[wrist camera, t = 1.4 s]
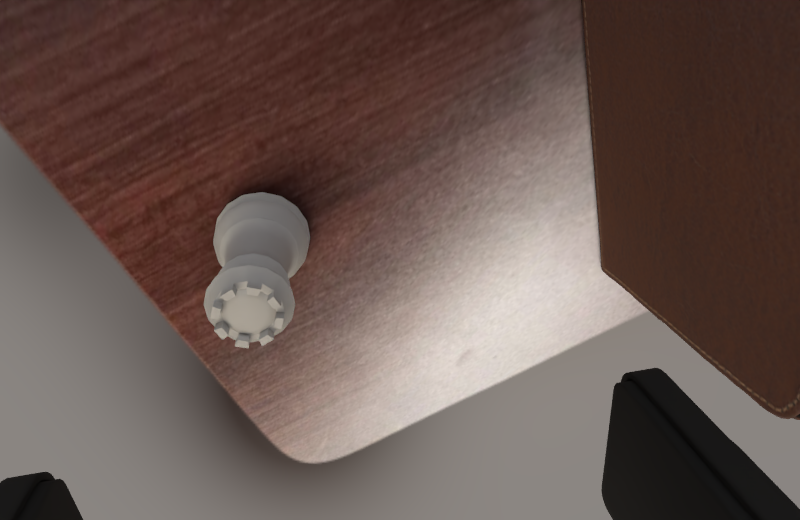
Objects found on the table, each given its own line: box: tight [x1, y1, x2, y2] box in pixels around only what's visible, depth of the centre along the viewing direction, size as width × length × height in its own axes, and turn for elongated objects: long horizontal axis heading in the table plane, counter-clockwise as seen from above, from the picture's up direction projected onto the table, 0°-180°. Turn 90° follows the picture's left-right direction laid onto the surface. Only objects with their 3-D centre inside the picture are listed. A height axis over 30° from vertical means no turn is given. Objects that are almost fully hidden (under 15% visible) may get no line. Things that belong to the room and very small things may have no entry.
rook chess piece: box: [204, 192, 310, 348], centre depth 23 cm, size 4×4×8 cm
